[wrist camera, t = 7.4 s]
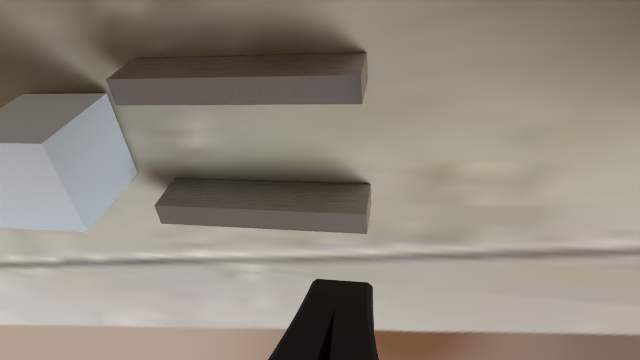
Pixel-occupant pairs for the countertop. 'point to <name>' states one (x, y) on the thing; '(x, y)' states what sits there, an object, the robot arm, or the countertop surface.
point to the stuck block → (60, 161)
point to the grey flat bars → (249, 89)
